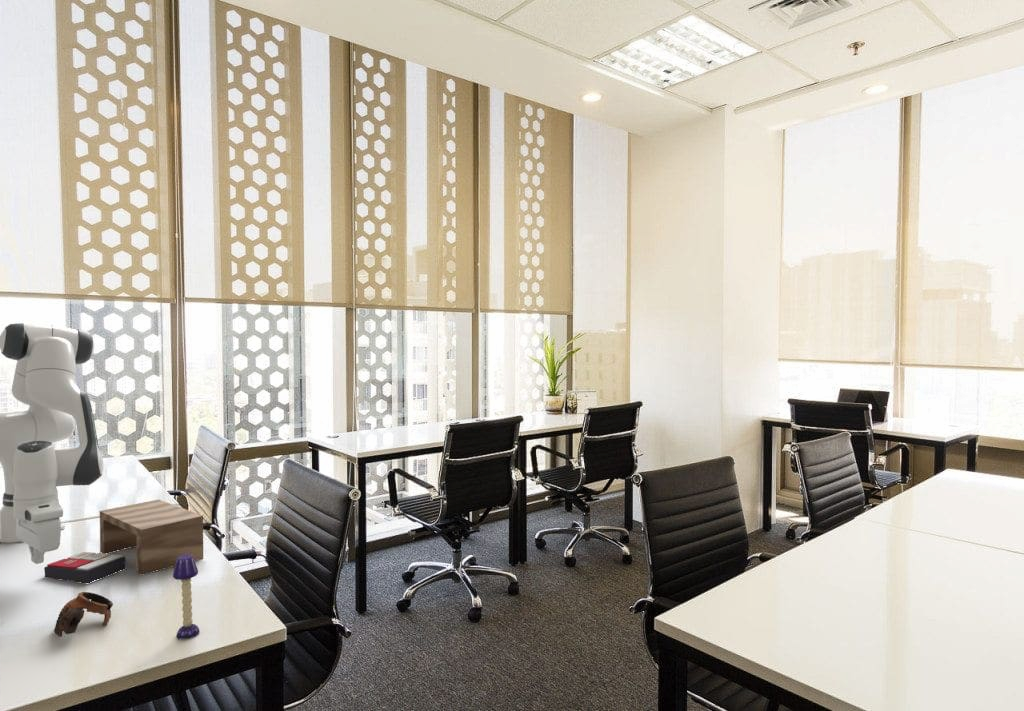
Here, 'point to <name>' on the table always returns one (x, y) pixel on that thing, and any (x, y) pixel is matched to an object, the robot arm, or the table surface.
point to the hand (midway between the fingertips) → (37, 562)
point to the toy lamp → (186, 594)
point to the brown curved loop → (81, 611)
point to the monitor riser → (152, 533)
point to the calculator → (85, 567)
